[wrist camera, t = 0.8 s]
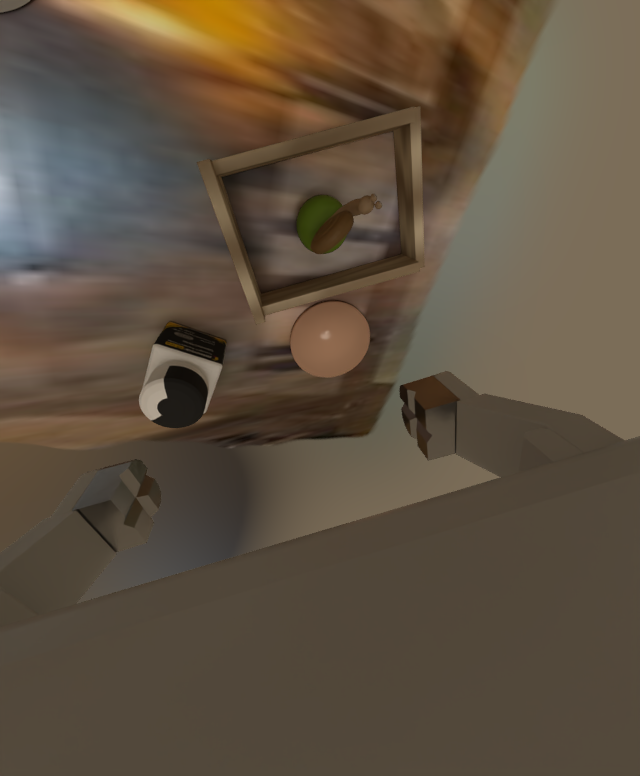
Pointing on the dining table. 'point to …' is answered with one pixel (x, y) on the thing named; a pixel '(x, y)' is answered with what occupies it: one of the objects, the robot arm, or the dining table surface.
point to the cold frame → (399, 122)
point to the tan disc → (329, 338)
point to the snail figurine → (329, 221)
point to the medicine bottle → (181, 376)
